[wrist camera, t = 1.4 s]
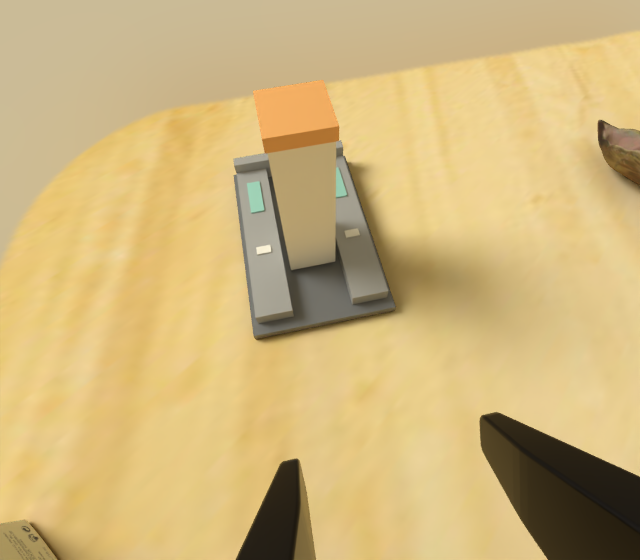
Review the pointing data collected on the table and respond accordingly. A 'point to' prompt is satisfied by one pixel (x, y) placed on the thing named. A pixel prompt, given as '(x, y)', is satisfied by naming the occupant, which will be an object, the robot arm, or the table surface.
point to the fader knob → (302, 167)
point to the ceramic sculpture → (621, 149)
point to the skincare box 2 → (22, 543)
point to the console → (310, 282)
